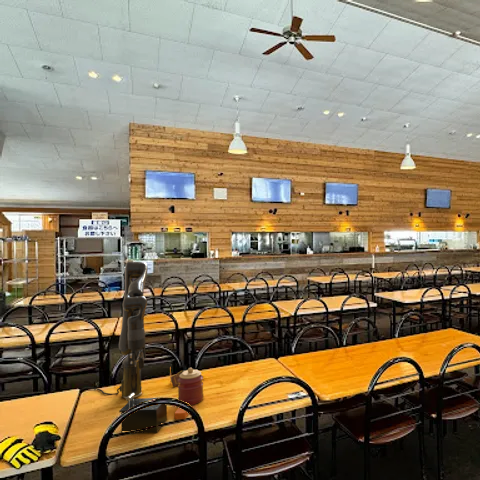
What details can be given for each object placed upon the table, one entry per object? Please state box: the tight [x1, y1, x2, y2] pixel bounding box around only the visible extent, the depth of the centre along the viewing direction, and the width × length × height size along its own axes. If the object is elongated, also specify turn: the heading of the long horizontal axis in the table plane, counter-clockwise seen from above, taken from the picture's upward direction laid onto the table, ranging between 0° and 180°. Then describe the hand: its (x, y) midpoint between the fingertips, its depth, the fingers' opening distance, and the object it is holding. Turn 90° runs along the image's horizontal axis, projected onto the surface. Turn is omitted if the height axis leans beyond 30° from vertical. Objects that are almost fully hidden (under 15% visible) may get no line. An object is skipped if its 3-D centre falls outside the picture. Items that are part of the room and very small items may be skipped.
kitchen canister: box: [177, 367, 204, 406], centre depth 203 cm, size 13×13×18 cm
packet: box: [174, 407, 189, 420], centre depth 186 cm, size 8×5×3 cm, turn 2°
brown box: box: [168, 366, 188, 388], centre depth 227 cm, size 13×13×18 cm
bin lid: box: [118, 393, 162, 413], centre depth 176 cm, size 16×13×5 cm
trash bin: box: [120, 404, 168, 435], centre depth 176 cm, size 16×13×10 cm
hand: (137, 371), depth 183 cm, fingers open, 8 cm apart
